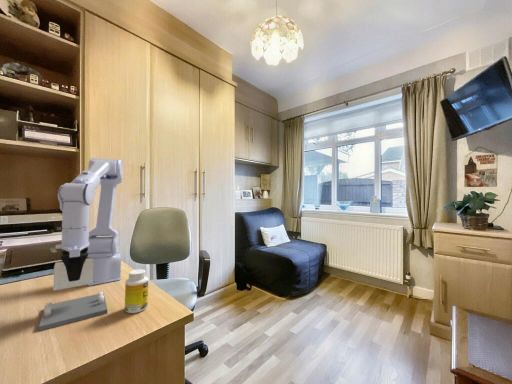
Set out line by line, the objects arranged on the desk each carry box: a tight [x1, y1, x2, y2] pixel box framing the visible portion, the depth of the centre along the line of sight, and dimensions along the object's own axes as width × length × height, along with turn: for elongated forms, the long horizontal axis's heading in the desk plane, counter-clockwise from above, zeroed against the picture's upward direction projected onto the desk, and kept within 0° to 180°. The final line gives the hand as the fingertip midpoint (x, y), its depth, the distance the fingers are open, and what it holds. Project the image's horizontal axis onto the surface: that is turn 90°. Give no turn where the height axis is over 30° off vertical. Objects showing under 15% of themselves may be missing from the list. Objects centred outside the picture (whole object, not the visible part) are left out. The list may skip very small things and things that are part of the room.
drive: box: [53, 257, 93, 292], centre depth 60 cm, size 8×4×6 cm, turn 128°
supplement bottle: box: [124, 268, 149, 314], centre depth 61 cm, size 6×6×10 cm
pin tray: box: [38, 291, 108, 332], centre depth 59 cm, size 13×12×3 cm
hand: (74, 277), depth 60 cm, fingers closed on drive, 4 cm apart
